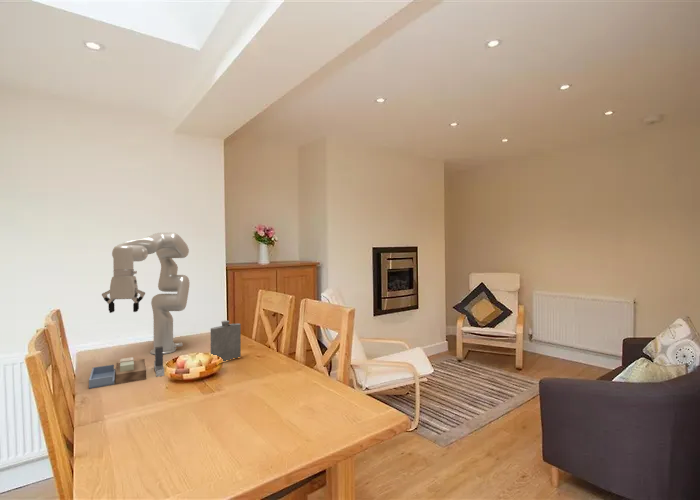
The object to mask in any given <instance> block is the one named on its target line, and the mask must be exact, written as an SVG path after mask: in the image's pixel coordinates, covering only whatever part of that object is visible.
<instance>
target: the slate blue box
mask: <svg viewBox="0 0 700 500" xmlns="http://www.w3.org/2000/svg"><path fill="white" fill-rule="evenodd" d="M115 383H116V368H115V364H110V365H109V364H108V365H107V364H106V365H102V366H95V367H92V369H91V372H90V374H89V378H88V389H97V388H103V387H107V386H113V385H115Z"/></svg>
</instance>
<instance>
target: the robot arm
mask: <svg viewBox="0 0 700 500" xmlns="http://www.w3.org/2000/svg"><path fill="white" fill-rule="evenodd" d="M155 253H156V256H157V258H158V260H159V263H160V274H159V277H158V283H157V287H158V290H159V291H160V292H164V293H157V294H155V295H154V296H152V298H151V302H150V304H151V308H152V309H151V310H152V315H153V318H152V319H153V348H152V349H150V352H149V353H150V354H151V355H155V347H161V346H162V347H163V355H167V354H171V353H174V352H176V351H177V348H178V347H183V342H174V318H173V315H172V314H171V312H181V311H184V310H185V309H186V306H187V303H188V298H189V297H188V296H189V291H190V279H189V277H188V275H186V274H185V275H184V274H178V271H179V270H178V269H179V268H178V264H177V262H176V261H175V260H174V259H184V258H186V257H187V256H188V255H189V253H190V249H189V247H188V245H187V243H186V241H185V240H184V239H183V238H182V237H181V236H180V235H179V234H178V233H176V232H156V233H153V234H151V235H150V236H149V235H148V236H146V237H145V238H138V239H133V240H128V241H124V242H122V243H119V244H117V245H116V246H114V247H113V248H112V252H111V256H112V258H113V259H112V260H113V271H112V273H113V276H112V277H111V280H110V286H109V289H108V290H107V291H105V292H103V293H101V296H102V298H103V300H104V301H105V302H106V303H107V305H108V311H109V313H110V314H112V313H114V312H115V310H116V309H115V300H130V299H131V300H132V301H133V305H132V307H133V308H132V309H133V313H137V312H138V311H139V309H140V302H141V301H142V300H143V299H144V297H145V295H146V292H145V291H143V290H140V289H138V288H139V287H138V280H137V276H135V275H137V273H138V272H137V270H135V269H134V262H142V261H145V260H146V259H147V257H148V255H151V254H155ZM167 292H168V293H167ZM108 295H109V297H108Z"/></svg>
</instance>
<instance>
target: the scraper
mask: <svg viewBox="0 0 700 500" xmlns="http://www.w3.org/2000/svg"><path fill="white" fill-rule="evenodd" d="M153 367H154V371H155V376H156V377H157V378H158V377H164V376H165V367H164V354H163V347H162V346H161V347H155V354H154V361H153Z"/></svg>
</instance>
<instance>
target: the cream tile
mask: <svg viewBox="0 0 700 500" xmlns="http://www.w3.org/2000/svg"><path fill="white" fill-rule="evenodd" d="M130 361H135V359H134V356H131V357H124V358H123V357H122V358H120V361H119V363H123V362H130Z"/></svg>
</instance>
